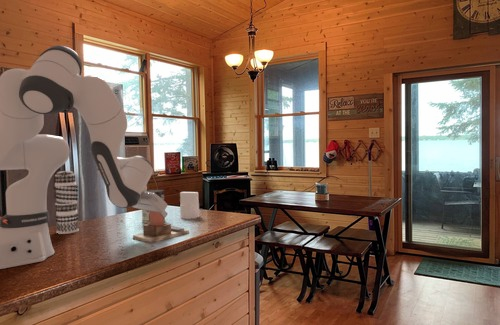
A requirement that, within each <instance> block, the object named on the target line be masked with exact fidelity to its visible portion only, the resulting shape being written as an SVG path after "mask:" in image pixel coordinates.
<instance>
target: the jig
mask: <svg viewBox="0 0 500 325" xmlns="http://www.w3.org/2000/svg"><path fill="white" fill-rule="evenodd" d="M142 229H143V232H142V233H138V234H133V235H132V239H134V240H138V241H142V242H146V243H151V244H152V243H155V242H160V241H163V240H168V239H171V238H176V237H179V236H182V235H187V234H190V230H189V229H185V228H184V227H180V226H174V225H172V223H169V222H168V223H167V222H164V225H162V226H157V227H154V226H150V223H144V224H143V227H142Z"/></svg>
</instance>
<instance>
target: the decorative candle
mask: <svg viewBox="0 0 500 325" xmlns="http://www.w3.org/2000/svg"><path fill="white" fill-rule="evenodd" d="M54 180H55V181H54V182H55V183H54V186H52V188H53V190H54V191H53V194H54V195H53V198H55V200H54V205H55V206H56V211H55V212H56V213H55V214H56V215H55V218H56V219H55V222H56V223H55V226H56V228H55V230H56V232H55V233H56V234H57V233H58V234H59V235H66V234H73V233H77V232H79V231H80V229H79V224H80V222H79V221H78V220H79V217H78V216H79V213H78V208H77V204H78V200H79V198H78V197H79V195H78V194H77V192H79V189H77V188H79V186H78V185H77V180H76V173H74V171H72V170H63V171H62V170H61V171H56V174H55V175H54Z"/></svg>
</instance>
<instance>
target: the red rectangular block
mask: <svg viewBox="0 0 500 325" xmlns="http://www.w3.org/2000/svg"><path fill="white" fill-rule="evenodd" d="M164 223H165V221H164V217H162V216H161V215H160V212H155V211H150V223H149V224H150V226H154V227H157V226H162V225H164Z"/></svg>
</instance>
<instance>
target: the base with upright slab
mask: <svg viewBox="0 0 500 325" xmlns="http://www.w3.org/2000/svg"><path fill="white" fill-rule="evenodd" d="M179 202H180V206H179V211H180V212H179V213H180V215H179V216H180V218H181V219H184V220H185V219H186V220H191V218H192V219H197V217H198V218H199V217H200V202H199V192H198V191H181V192H179Z"/></svg>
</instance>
